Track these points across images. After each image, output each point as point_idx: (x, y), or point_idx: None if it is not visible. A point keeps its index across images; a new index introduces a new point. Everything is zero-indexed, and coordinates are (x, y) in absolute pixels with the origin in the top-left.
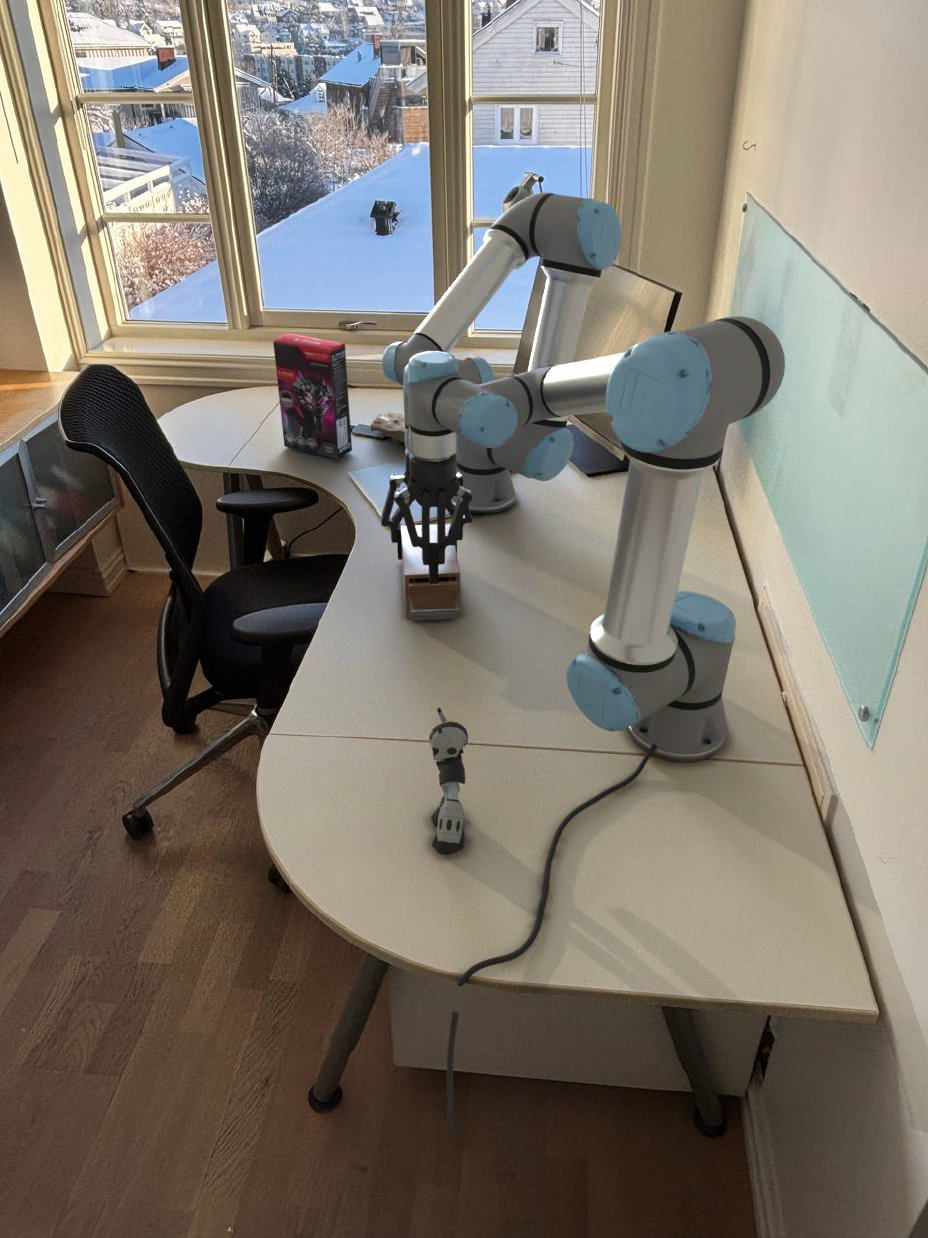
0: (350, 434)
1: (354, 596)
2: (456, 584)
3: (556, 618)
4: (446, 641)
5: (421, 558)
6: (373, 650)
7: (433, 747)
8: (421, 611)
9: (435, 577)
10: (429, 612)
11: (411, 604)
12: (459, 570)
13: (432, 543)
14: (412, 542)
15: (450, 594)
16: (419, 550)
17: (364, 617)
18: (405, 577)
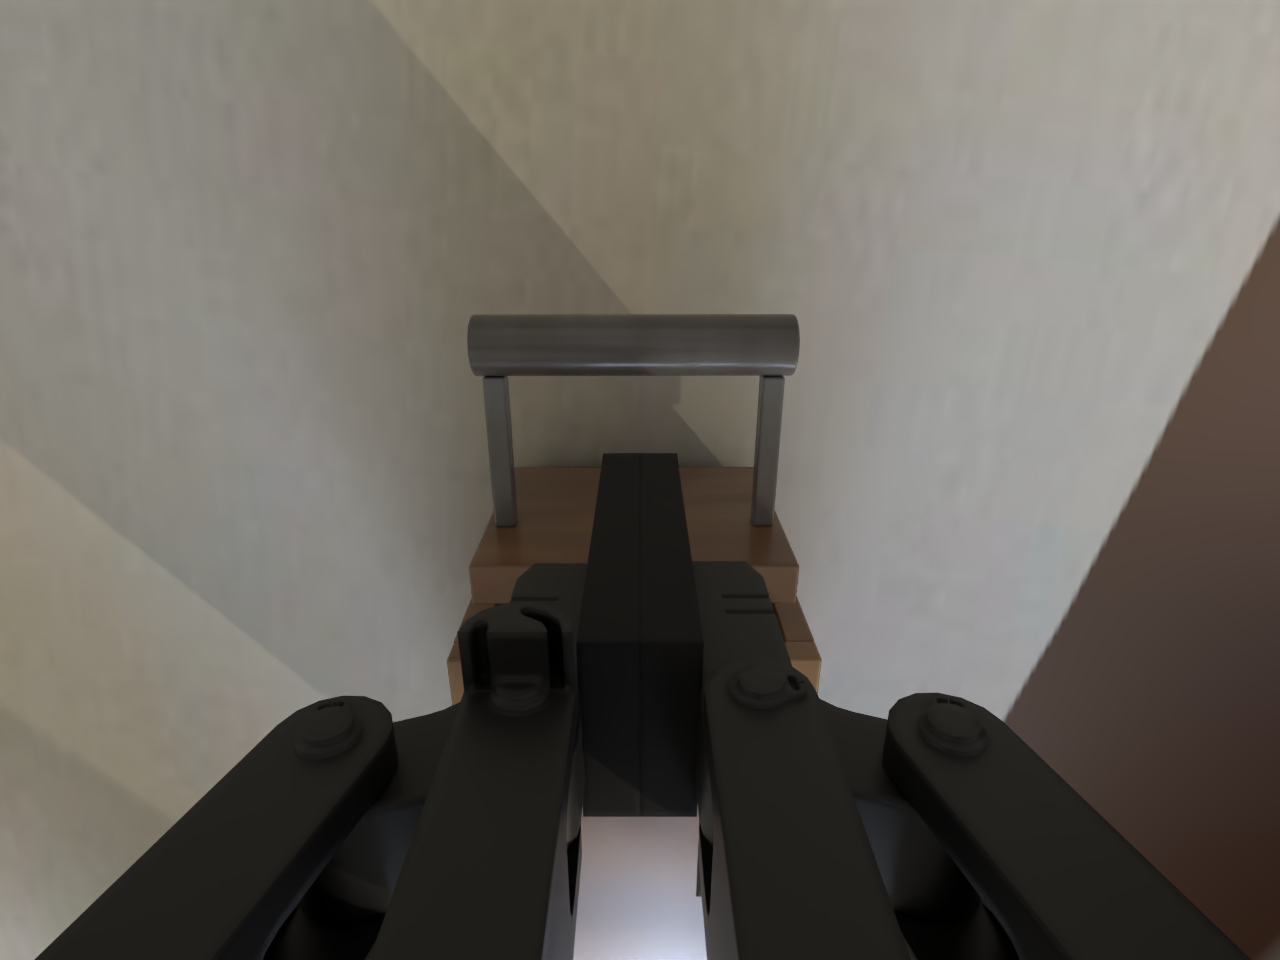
0: None
1: (969, 683)
2: (479, 564)
3: (22, 451)
4: (580, 296)
5: (689, 818)
6: (966, 247)
7: None
8: (729, 344)
9: (627, 475)
10: (676, 334)
11: (777, 452)
12: (451, 686)
13: (646, 800)
14: (1013, 755)
15: (530, 531)
16: (693, 888)
17: (956, 530)
18: (811, 648)
